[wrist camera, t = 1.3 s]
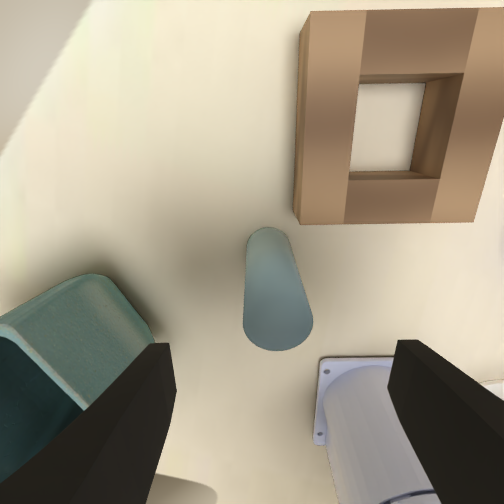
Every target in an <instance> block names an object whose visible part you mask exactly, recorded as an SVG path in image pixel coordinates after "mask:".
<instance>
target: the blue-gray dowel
mask: <svg viewBox="0 0 504 504" xmlns="http://www.w3.org/2000/svg"><path fill="white" fill-rule="evenodd" d="M312 327H313V316H312V312H311V309H310V306H309V303H308V300H307V297H306V293H305V290H304V287H303V284H302V281H301V278H300V275H299V271H298V268H297V265H296V262H295V259H294V256H293V253H292V249H291V246H290V243H289V240H288V238H287V236H286V235H285V234H284V233H283V232H282V231H280V230H278V229H276V228H270V227H267V228H262V229H259V230H257V231H256V232H254V233H253V234H252V235H251V237H250V238H249V240H248V243H247V253H246V273H245V292H244V312H243V328H244V332H245V334H246V336H247V337H248V338H249V340H250V341H251V342H252V343H254V344H255V345H256V346H258V347H260V348H263V349H266V350H270V351H284V350H288V349H291V348H294V347H296V346H298V345H299V344H301V343H302V342H303V341H304V340H305V339H306V338H307V337H308V336H309V334H310V332H311V330H312Z"/></svg>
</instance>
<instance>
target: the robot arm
mask: <svg viewBox="0 0 504 504" xmlns="http://www.w3.org/2000/svg"><path fill="white" fill-rule="evenodd" d="M325 369H328V370H325ZM176 392H177V389H176V383H175V377H174V370H173V364H172V358H171V351H170V345H169V343H150V344H149V345H148V346H147V347H146V348H145V349H144V350H143V351H142V352H141V353H140V354H139V355H138V356H137V357H136V358H135V359H134V360H133V361H132V362H131V364H130V365H129V366H128V367H127V368H126V369H125V370H124V371H123V372H122V373H121V374H120V375H119V376H118V377H117V378H116V379H115V380H114V381H113V383H112V384H111V385H110V386H109V387H108V388H107V389H106V390H105V391H104V392H103V393H102V394H101V395H100V396H99V397H98V398H97V399H96V400H95V401H94V402H93V403H92V404H91V405H90V406H89V407H88V408H87V409H85V410H84V411H83V412H82V413H81V414H80V415H79V416H78V417H77V418H76V419H75V420H74V421H73V422H72V423H71V424H70V425H69V426H68V427H66V428H65V429H64V430H63V431H62V432H61V433H60V434H59V435H58V436H57V437H55V438H54V439H53V440H52V441H51V442H50V443H49V444H48V445H46V446H45V447H44V448H43V449H42V450H41V451H39V452H38V453H37V454H36V455H35V456H33V457H32V458H31V459H30V460H29V461H27V462H26V463H25V464H24V465H23V466H21V467H20V468H19V469H18V470H17V471H15V472H14V473H13V474H12V475H10V476H9V477H8V478H7V479H5V480H4V481H3V482H1V483H0V504H146V500H147V497H148V494H149V491H150V487H151V484H152V481H153V478H154V475H155V472H156V469H157V465H158V462H159V459H160V456H161V453H162V449H163V446H164V443H165V440H166V436H167V433H168V430H169V426H170V422H171V418H172V413H173V408H174V402H175V397H176ZM313 442H314V444H316V445H326V450H327V454H328V458H329V463H330V467H331V471H332V476H333V480H334V485H335V489H336V493H337V498H338V502H339V504H504V401H503V400H502V399H501V398H499V397H498V396H496V395H495V394H493V393H492V392H490V391H489V390H488V389H486V388H485V387H483V386H482V385H481V384H479V383H478V382H476V381H475V380H474V379H472V378H471V377H469V376H468V375H467V374H465V373H464V372H462V371H461V370H460V369H458V368H457V367H456V366H454V365H453V364H451V363H450V362H449V361H447V360H446V359H444V358H443V357H442V356H440V355H439V354H438V353H436V352H435V351H433V350H432V349H431V348H429V347H428V346H426V345H425V344H423V343H422V342H420V341H419V340H398V341H397V346H396V350H395V355H394V357H385V358H325V359H323V360H321V362H320V368H319V378H318V389H317V399H316V410H315V420H314V430H313Z"/></svg>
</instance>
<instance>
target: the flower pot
mask: <svg viewBox="0 0 504 504" xmlns="http://www.w3.org/2000/svg"><path fill="white" fill-rule="evenodd" d="M150 343H155V342H154V339H153V336H152V334H151V331H150V329H149V327H148V325H147V324H146V323H145V321H144V320H143V319H142V318H141V316H140V315H139V314H138V313H137V311H136V310H135V309H134V308H133V307H132V305H131V304H130V303H129V302H128V300H127V299H126V298H125V297H124V295H123V294H122V293H121V291H120V290H119V289H118V288H117V286H116V285H115V284H114V283H113V282H112V280H111V279H110V278H108V277H106V276H103V275H99V274H85V275H81V276H77V277H74V278H71V279H69V280H66V281H64V282H62V283H60V284H58V285H57V286H55V287H53V288H51V289H49V290H48V291H46V292H44V293H42V294H40V295H39V296H37V297H35V298H33V299H31V300H30V301H28V302H26V303H24V304H22V305H20V306H19V307H17V308H15V309H13V310H11V311H10V312H8V313H6V314H4V315H2V316H0V483H1V482H3V481H4V480H5V479H7V478H8V477H9V476H10V475H12V474H13V473H14V472H15V471H17V470H18V469H19V468H20V467H21V466H23V465H24V464H25V463H26V462H27V461H29V460H30V459H31V458H32V457H33V456H35V455H36V454H37V453H38V452H39V451H41V450H42V449H43V448H44V447H45V446H46V445H48V444H49V443H50V442H51V441H52V440H53V439H54V438H55V437H57V436H58V435H59V434H60V433H61V432H62V431H63V430H64V429H65V428H66V427H68V426H69V425H70V424H71V423H72V422H73V421H74V420H75V419H76V418H77V417H78V416H79V415H80V414H81V413H82V412H83V411H84V410H85V409H87V408H88V407H89V406H90V405H91V404H92V403H93V402H94V401H95V400H96V399H97V398H98V397H99V396H100V395H101V394H102V393H103V392H104V391H105V390H106V389H107V388H108V387H109V386H110V385H111V384H112V383H113V381H114V380H115V379H116V378H117V377H118V376H119V375H120V374H121V373H122V372H123V371H124V370H125V369H126V368H127V367H128V366H129V365H130V364H131V362H132V361H133V360H134V359H135V358H136V357H137V356H138V355H139V354H140V353H141V352H142V351H143V350H144V349H145V348H146V347H147V346H148V345H149V344H150Z"/></svg>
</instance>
